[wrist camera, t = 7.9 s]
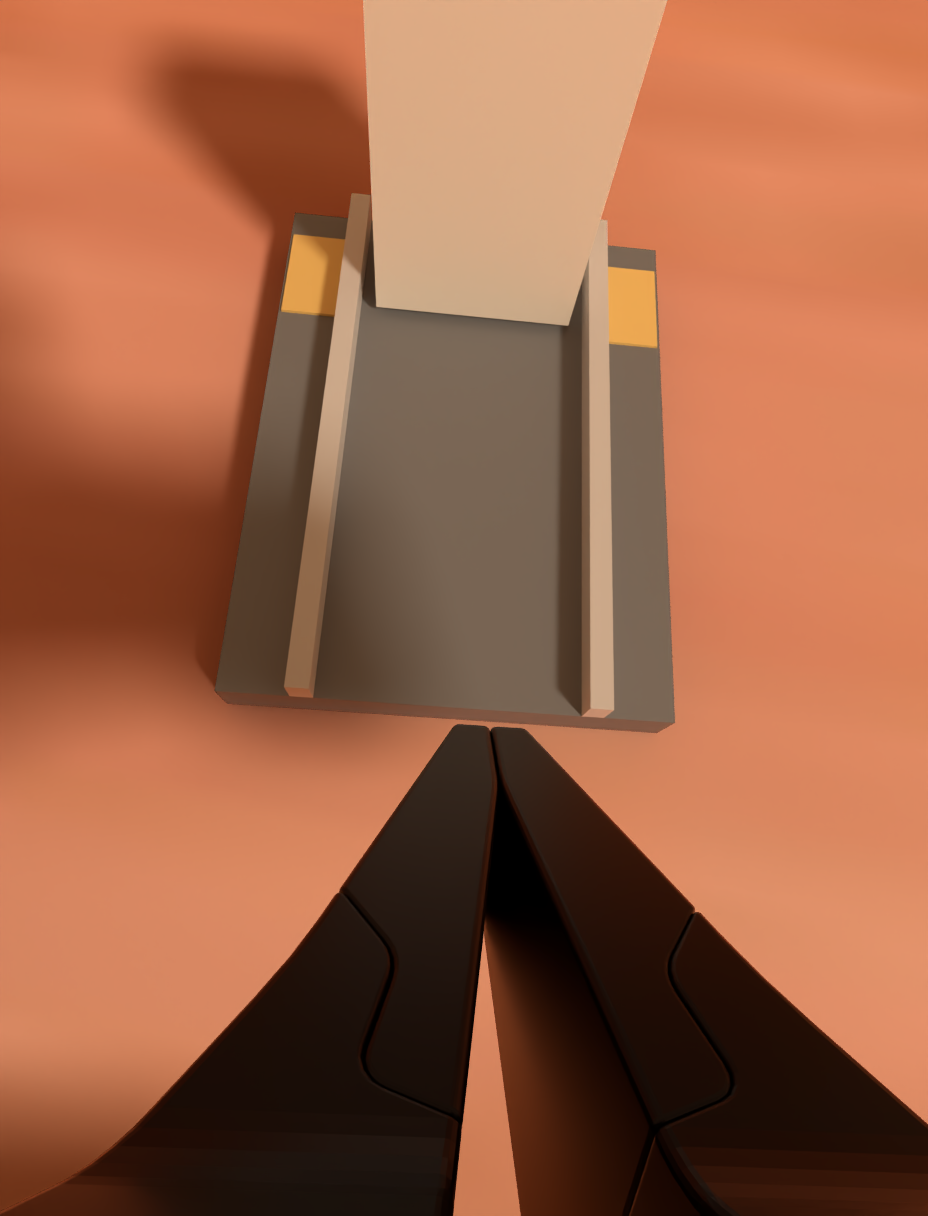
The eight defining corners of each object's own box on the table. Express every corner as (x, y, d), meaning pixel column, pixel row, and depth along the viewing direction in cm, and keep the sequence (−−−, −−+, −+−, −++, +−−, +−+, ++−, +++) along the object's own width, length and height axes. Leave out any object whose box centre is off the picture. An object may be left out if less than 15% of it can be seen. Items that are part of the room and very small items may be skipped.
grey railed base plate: (656, 732, 21) (688, 715, 19) (227, 703, 21) (204, 681, 18) (642, 283, 27) (665, 226, 24) (301, 248, 26) (290, 186, 24)
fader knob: (574, 331, 24) (705, -78, 13) (369, 311, 23) (344, -126, 13) (574, 246, 25) (695, -190, 15) (379, 226, 24) (363, -236, 14)
